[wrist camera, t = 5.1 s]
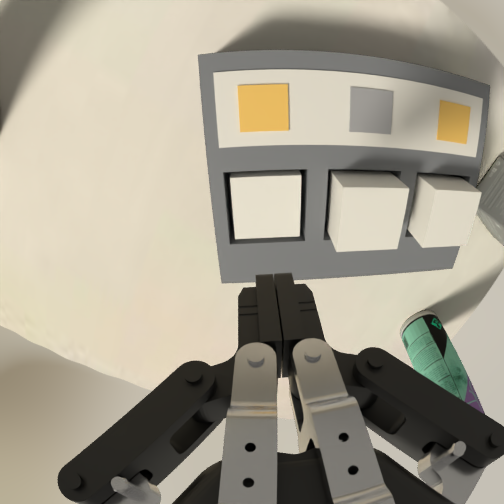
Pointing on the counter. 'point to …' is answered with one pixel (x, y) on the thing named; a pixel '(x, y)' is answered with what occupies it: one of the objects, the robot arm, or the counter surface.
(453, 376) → the spray can
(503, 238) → the skincare box
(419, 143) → the button panel
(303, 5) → the counter surface
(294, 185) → the button
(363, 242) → the middle button
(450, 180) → the button
